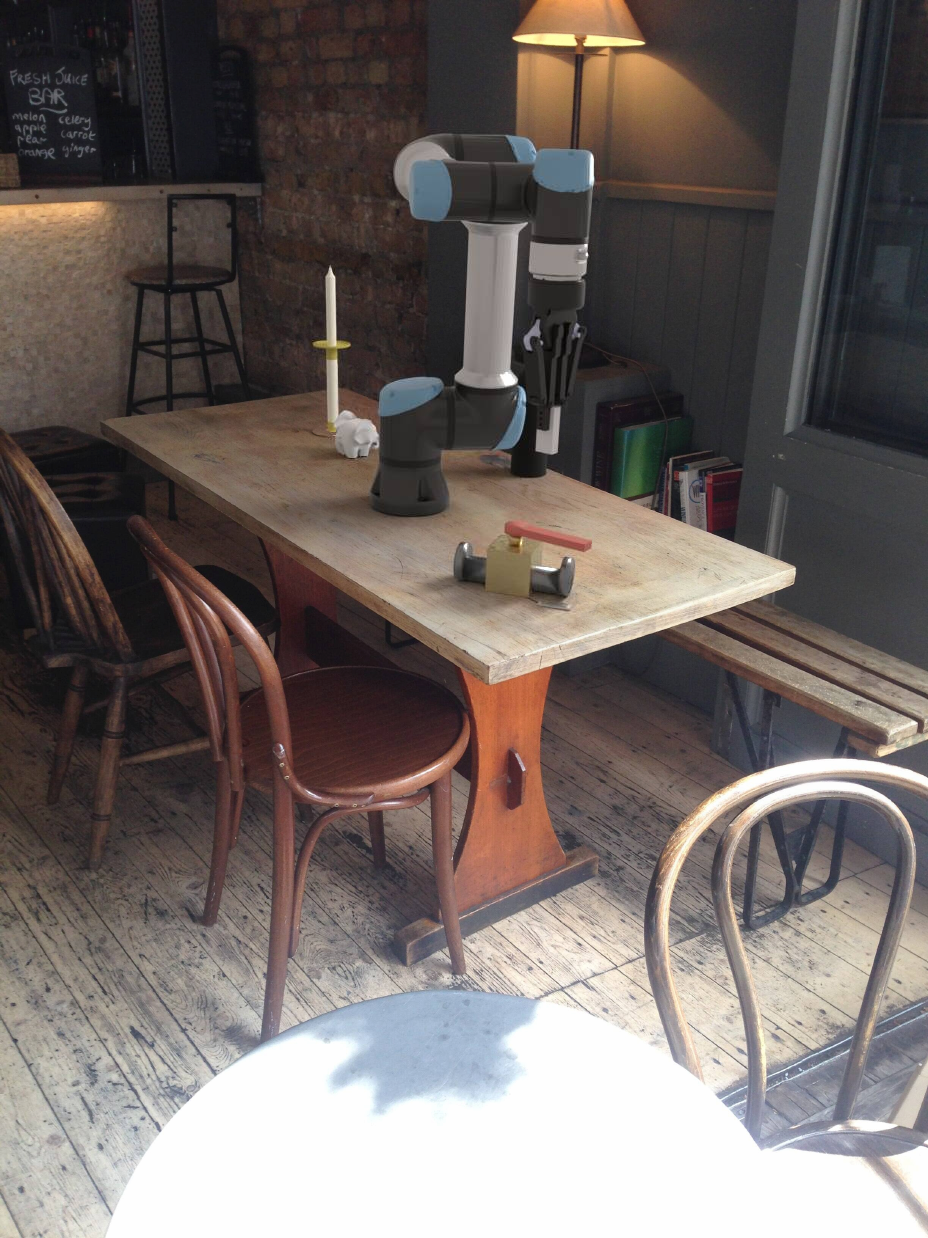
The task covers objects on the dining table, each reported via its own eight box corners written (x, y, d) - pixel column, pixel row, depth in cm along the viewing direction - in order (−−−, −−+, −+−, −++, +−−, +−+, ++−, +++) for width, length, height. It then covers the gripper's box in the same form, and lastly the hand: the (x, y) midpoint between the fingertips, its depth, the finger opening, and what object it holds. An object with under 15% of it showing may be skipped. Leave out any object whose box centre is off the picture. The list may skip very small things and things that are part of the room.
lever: (499, 532, 168) (500, 525, 167) (512, 526, 170) (512, 519, 170) (581, 553, 160) (582, 545, 160) (593, 546, 163) (594, 539, 163)
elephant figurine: (393, 456, 238) (393, 415, 235) (344, 463, 232) (343, 422, 229) (371, 445, 246) (371, 406, 242) (323, 452, 239) (322, 412, 236)
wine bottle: (508, 467, 233) (515, 323, 221) (543, 467, 234) (552, 323, 221) (512, 477, 226) (520, 329, 214) (548, 477, 227) (558, 330, 215)
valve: (446, 590, 169) (448, 537, 166) (466, 570, 177) (467, 519, 174) (569, 610, 164) (573, 555, 160) (583, 588, 172) (587, 536, 168)
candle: (352, 438, 251) (350, 267, 236) (308, 436, 251) (304, 266, 236) (356, 427, 260) (355, 262, 245) (314, 425, 260) (310, 261, 245)
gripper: (552, 283, 137) (541, 466, 146) (608, 275, 146) (594, 447, 156) (504, 277, 141) (497, 455, 151) (561, 270, 150) (550, 438, 160)
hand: (546, 451), depth 153 cm, fingers closed
